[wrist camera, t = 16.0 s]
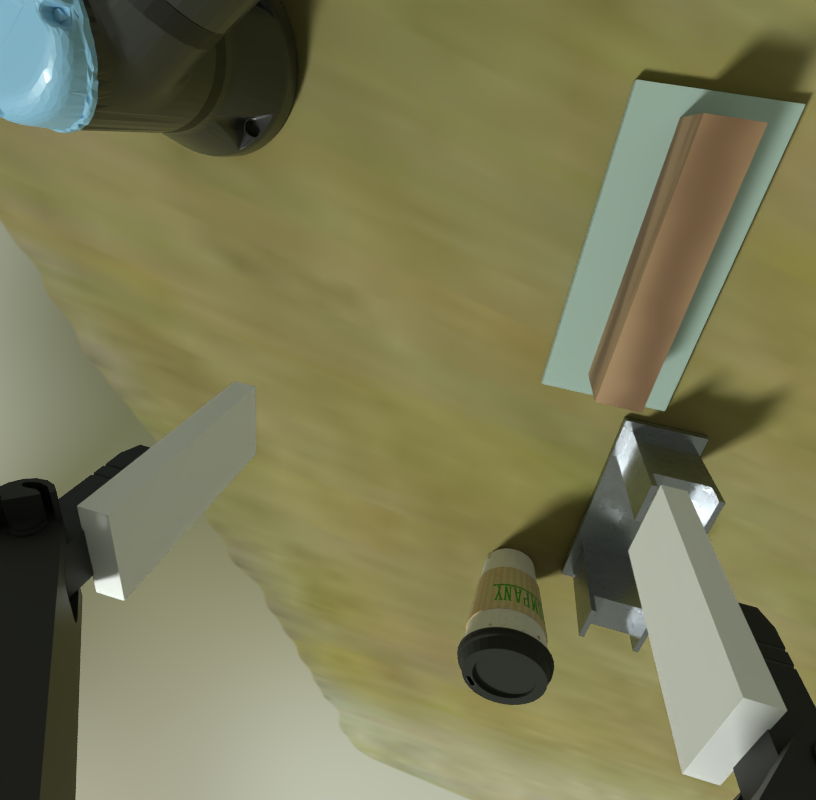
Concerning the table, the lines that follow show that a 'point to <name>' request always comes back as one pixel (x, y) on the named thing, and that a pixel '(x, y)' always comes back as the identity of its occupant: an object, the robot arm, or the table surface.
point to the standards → (632, 520)
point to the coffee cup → (506, 633)
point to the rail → (671, 253)
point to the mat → (624, 213)
